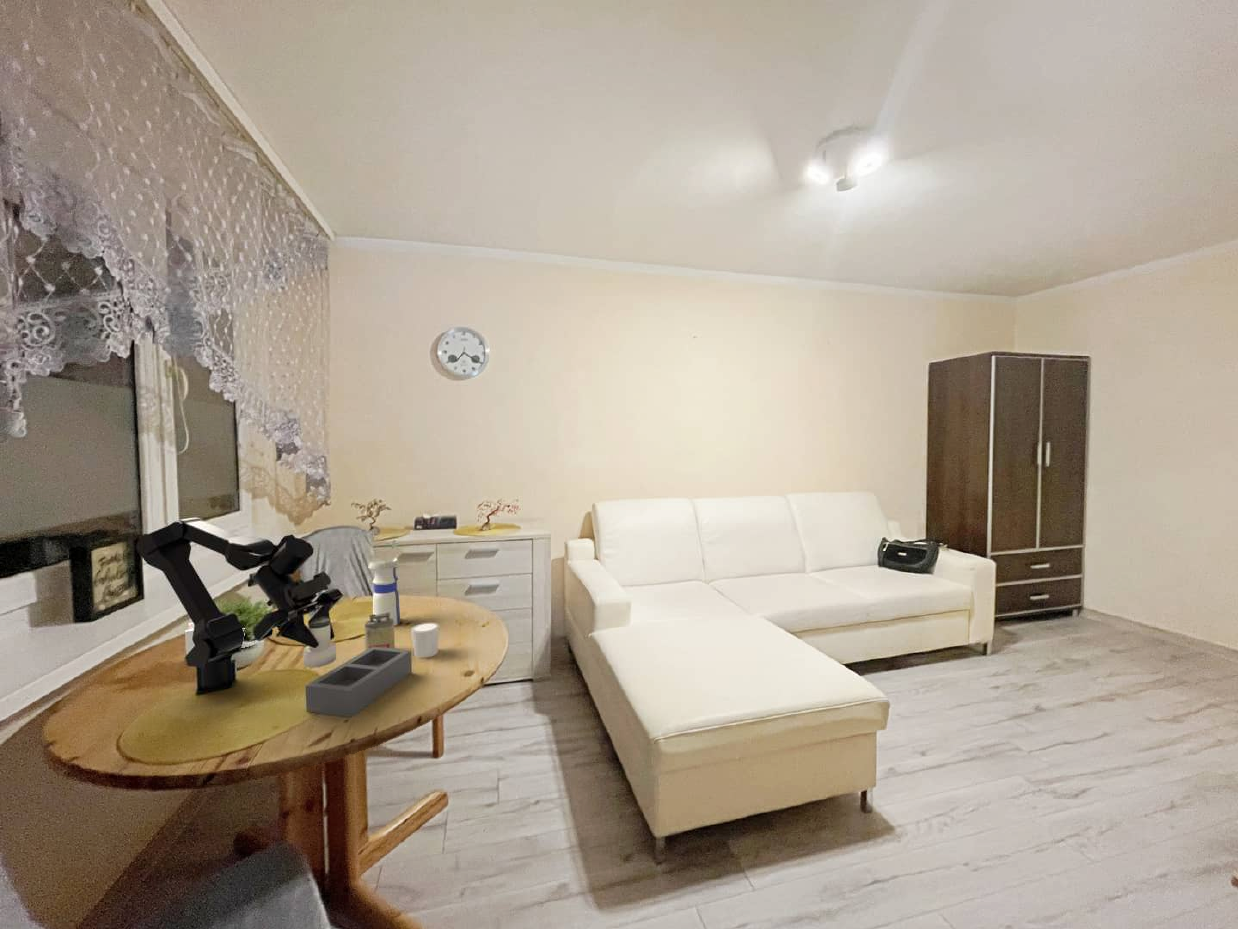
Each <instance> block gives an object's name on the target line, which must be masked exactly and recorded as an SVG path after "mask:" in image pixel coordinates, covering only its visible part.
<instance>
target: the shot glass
mask: <svg viewBox="0 0 1238 929" xmlns="http://www.w3.org/2000/svg"><path fill="white" fill-rule="evenodd" d="M410 630H411V638H412V645H413V653H414V657H415V658H417V657H418V659H426V658H427V657H428V658H430V657H431V658H432V657H433V656H435V655H437V654H438V651H439V638H440V637H439V636H440V624H439V623H436V622H423V623H419V624H416V625H415V626H412V627H411V629H410Z"/></svg>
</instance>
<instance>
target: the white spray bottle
mask: <svg viewBox="0 0 1238 929" xmlns="http://www.w3.org/2000/svg"><path fill="white" fill-rule="evenodd" d="M389 544H390V545H391V550H394V549H395V550H398V546H399V544H400V543H399V542H396V540H395V539H393V541H392V542H389ZM398 560H399V559H398V558H396V557H394V559H393V561H391V562H386V560H385V559H384V558H381V557H380V558H376V559H373V560H371V561H370V562H369V565H368V567H367V568H368V569H370V570H373V572H374V578H373V580H372V583H373V590H374V591H373V594H372V615H373V614H374V615H378V614H385V613H387V612H390V618H391V619H393V622H394V627H395V626H397V625H399V624H400V623H401V611H400V595H399V591H398V580H399V577H398V576H397V573H396V572H397V571H396V569H398V568H399V567H400V566H399V561H398ZM381 619H387V618H381ZM373 620H376V619H373Z"/></svg>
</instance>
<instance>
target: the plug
mask: <svg viewBox="0 0 1238 929" xmlns="http://www.w3.org/2000/svg"><path fill="white" fill-rule="evenodd" d="M310 619H311V618H310ZM310 619H309V620H308V621H307V623H308V624H307V626H308V627H307V628H308V629H309V630H310V632H311V633H312V634H313V636H314V637H315V639H316V640H317V642H318V644H319V645H318V647H317V648H313V647H310V646H308V645H306V646H305V648H303V652H302V653H303V666H304V667H305V668H313V669H314V668H321V667H325V666H327V665H331V664H333V663H334V662H335V661H337V645H336V642H334V641H332V640H331V639H330V621H331V617H330V618H329V617H318V618H314V619H311V620H310Z"/></svg>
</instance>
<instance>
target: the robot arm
mask: <svg viewBox="0 0 1238 929" xmlns="http://www.w3.org/2000/svg"><path fill="white" fill-rule="evenodd" d="M191 543H194V544H196V545H199V546H201V547H202V548H203V547H204V548H205V549H209V550H211V551H213V552H216V553H218V554H221V555H222V556H224V557H225V561H226V563H227V564H229V565H230V566H232V567H234V569H237V571H238V570H239V571H241V572H245V571H248V570H253V569H256V568H259V569H257V571H256V572H252V573H249V579H248V581H247V587H249V588H251V587H254V586H258V587H259V588H260V589H261V591H262V593H264V594H265V595H266V597H267V598H268V601H267V602H266V605H267V606H268V607H272V606H274V607H275V608H276V609H277V610H274V611H272V612H270V613H266V614H265V615H264V616H263V617H262V618H261V619H260V621H258V623H257V624H256V625H255V626H254V627H253V628H252V630H253V631H252V632H253V635H252V636H254V638H255V639H256V641H258V642H261V641H264V640H266V639H268V638H270V637H271V636H272V635H273V632H274V630H273V629H274V628H277V630H278V633H276V634H275V636H276V638H281V637H282V638H285V639H289V640H292V641H295V642H298V643H301V644H303V645H305V646H310V647H313V648H317V647H318V645H319V644H318V642H317V640H316V639H315V637H314V636H313V634H312V633H311V632H310V630H309V627H307V626H308V625H306V623H305V615H308V616H309V618H310V619H309V620H311V619H314V618H318V617H329V618H330V619H331V617H330V610H331V609H333V607H334V606H336V604H337V603H338V602H339V601H340V600H341V599H342V598H343V597H344V594H343V593H342V592H341V591H340V589H339V588H331V589H329V585H331V583H332V579H331V577H330V576H329V575H328V573H326V572H325V571H321V572H319V573H316V574H315V575H312V579H309V580H307V581H304V580H301V579H298V580H295V578H294V577H293V575H294V574H296V573H297V572H298V571H299V570H300V569H301V568H302V567H303V566H304V564H306V563H307V561H308V560H309V559H310V558H311V557H312V556H313V554H314V547H313V546H312V544H311V543H310V542H307V541H306V540H304V539H302V538H298V537H295V536H294V534H291V533H290V534H288V535H284V536H283V537H282V538H281V540H280V541H279V543H278V544H274V543H273V542H272V541H271V540H270V539H266V538H261V537H257V536H256V537H255V536H253V537H252V536H242V535H238V534H235V533H234V532H231V531H228V530H225V529H223V528H221V527H218V526H216V525H213V524H211V523H208V522H206V521H204V520H203V519H202V518H200V517H189V518H181V519H178V520H176V521H174V522H172V523H170V524H168V525H167V526H163V527H162V528H159V529H156V530H155V531H153V532H149V533H144V534H142V535H141V537H139V539H138V541H137V542H136V544H135V545H136V551H137V553H138V554H139V555H140V557H141V558H142V559H143V560H144V562H145V563H146V564H147V565H148V566H151V567H153V568H155V569H157V570H159V571H160V572H162V573H163V574H164V576H165V578H166V579H167V581H168V583H169V584H170V586H171V588H172V589H173V591H174V593H175V594H176V596H177V598H178V600H179V601H180V603H181V604H182V606H183V608H184V610H185V612H186V613H187V615H188V616H189V618H190V620H191V621H192V622H191V623H194V631H193V637H192V640H193V642H194V645H195V646H194V647H193V648H192V650H191V651H190V652H189V653H188V654H187V655H186V654H185V657H184V658H185V662H186V666H188V667H194V668H195V671H196V690H195V693H196V694H195V695H198V694H197V693H201V694H203V693H204V694H205V693H209V691H210V692H214V691H219V689H220V690H223V689H222V688H224V689H228V688H227V687H229V688H232V687H233V685H234V682H236V681H237V678H238V670H237V669H238V668H237V664H238V663H237V659H236V658H235V659H234V655H235V654H238V653H240V652H241V651H242V647H243V646H242V644H243V640H244V636H245V633H244V630H243V629H244V628H245V627H244V625H243V624H242V623H241V622H240V621H239V619H238V618H239V617H238V616H237V615H236V614H235V613H233V612H232V613H229V614H226V613H224V612H221V610H219V607H218V605H217V604H216V602H215V601H214V599H213V597H212V595H211V594H210V592H209V590H208V588H206V586H205V584H204V582H203V580H202V578H200V576H199V574H198V572H197V571H196V569H195V568H194V565H193V564H192V562H191V561H190V556H191V553H192V552H191V551H192V545H191ZM323 591H324V592H323ZM320 592H321V594H320V595H319V596H318V593H320ZM317 596H318V597H317ZM315 598H316V599H315ZM313 600H314V601H313ZM335 637H336V636H335V632H334V629H333V625H332V622H331V620H330V639H331V641H332V640H334V638H335Z"/></svg>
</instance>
